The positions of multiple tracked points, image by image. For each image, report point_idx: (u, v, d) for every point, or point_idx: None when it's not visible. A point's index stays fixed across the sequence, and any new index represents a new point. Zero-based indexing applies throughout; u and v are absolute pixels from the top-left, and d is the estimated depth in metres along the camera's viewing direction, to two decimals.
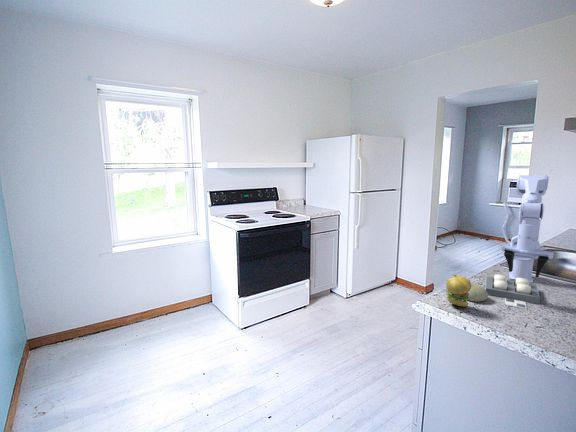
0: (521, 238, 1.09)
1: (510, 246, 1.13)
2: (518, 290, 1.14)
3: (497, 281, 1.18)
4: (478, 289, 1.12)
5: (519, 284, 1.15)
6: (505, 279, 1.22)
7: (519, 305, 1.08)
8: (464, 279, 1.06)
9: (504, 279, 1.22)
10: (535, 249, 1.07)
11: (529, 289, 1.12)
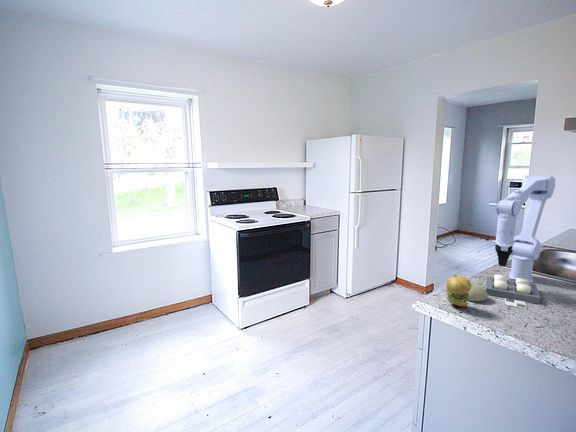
0: None
1: None
2: (518, 290, 1.14)
3: (497, 281, 1.18)
4: (478, 289, 1.12)
5: (519, 284, 1.15)
6: (505, 279, 1.22)
7: (519, 305, 1.08)
8: (464, 279, 1.06)
9: (504, 279, 1.22)
10: (501, 241, 1.20)
11: (529, 289, 1.12)
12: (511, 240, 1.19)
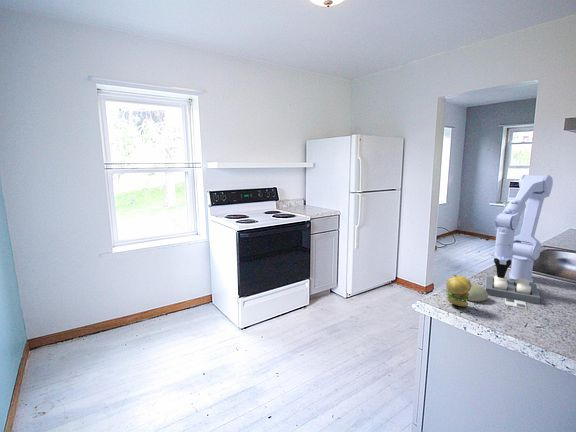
0: None
1: None
2: (518, 290, 1.14)
3: (497, 281, 1.18)
4: (478, 289, 1.12)
5: (519, 284, 1.15)
6: (505, 280, 1.22)
7: (519, 305, 1.08)
8: (464, 279, 1.06)
9: (504, 280, 1.22)
10: (499, 254, 1.21)
11: (529, 289, 1.12)
12: (510, 253, 1.20)
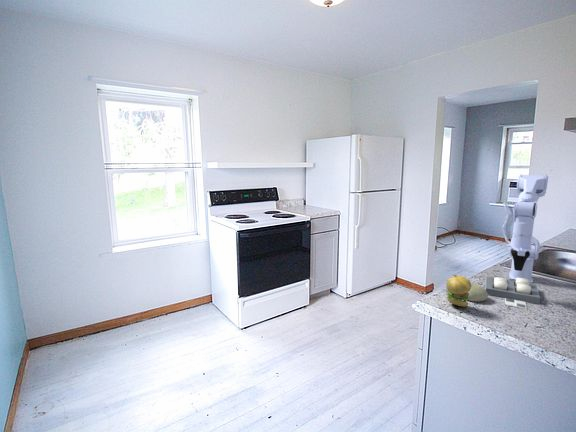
0: None
1: None
2: (518, 290, 1.14)
3: (497, 281, 1.18)
4: (478, 289, 1.12)
5: (519, 284, 1.15)
6: None
7: (519, 305, 1.08)
8: (464, 279, 1.06)
9: None
10: (517, 245, 1.13)
11: (529, 289, 1.12)
12: (529, 244, 1.12)
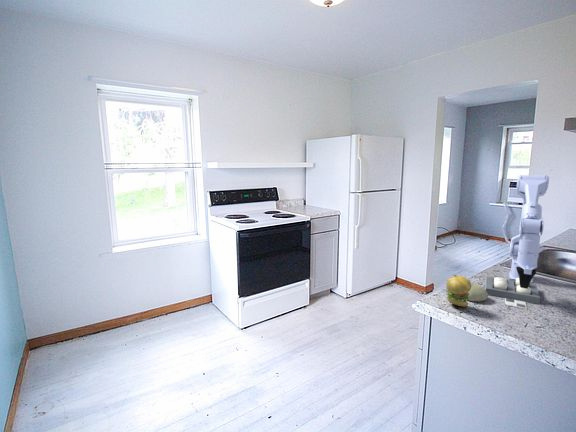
0: None
1: None
2: (518, 292, 1.14)
3: (497, 281, 1.18)
4: (478, 289, 1.12)
5: (519, 286, 1.15)
6: None
7: (519, 305, 1.08)
8: (464, 279, 1.06)
9: None
10: (523, 263, 1.11)
11: (529, 291, 1.13)
12: (535, 262, 1.10)
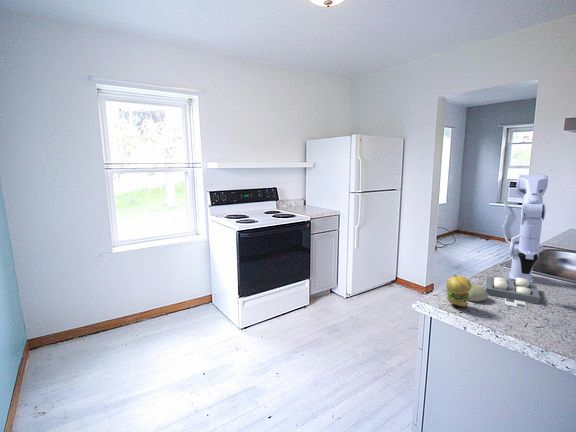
0: None
1: None
2: None
3: (497, 281, 1.18)
4: (478, 289, 1.12)
5: (519, 287, 1.16)
6: None
7: (519, 305, 1.08)
8: (464, 279, 1.06)
9: None
10: (525, 248, 1.10)
11: (529, 292, 1.13)
12: (537, 247, 1.09)
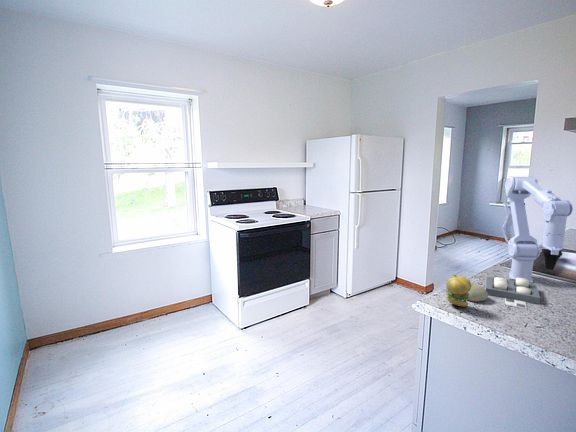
0: None
1: None
2: None
3: (497, 281, 1.18)
4: (478, 289, 1.12)
5: (519, 287, 1.16)
6: None
7: (519, 305, 1.08)
8: (464, 279, 1.06)
9: None
10: (549, 244, 1.13)
11: (529, 292, 1.13)
12: (561, 243, 1.11)
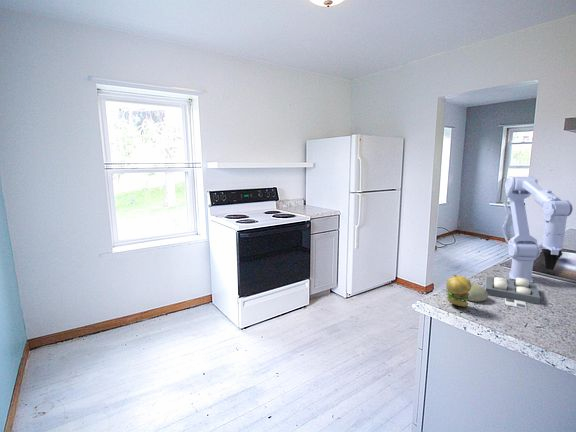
0: None
1: None
2: None
3: (497, 281, 1.18)
4: (478, 289, 1.12)
5: (519, 287, 1.16)
6: None
7: (519, 305, 1.08)
8: (464, 279, 1.06)
9: None
10: (549, 244, 1.13)
11: (529, 292, 1.13)
12: (561, 243, 1.11)
